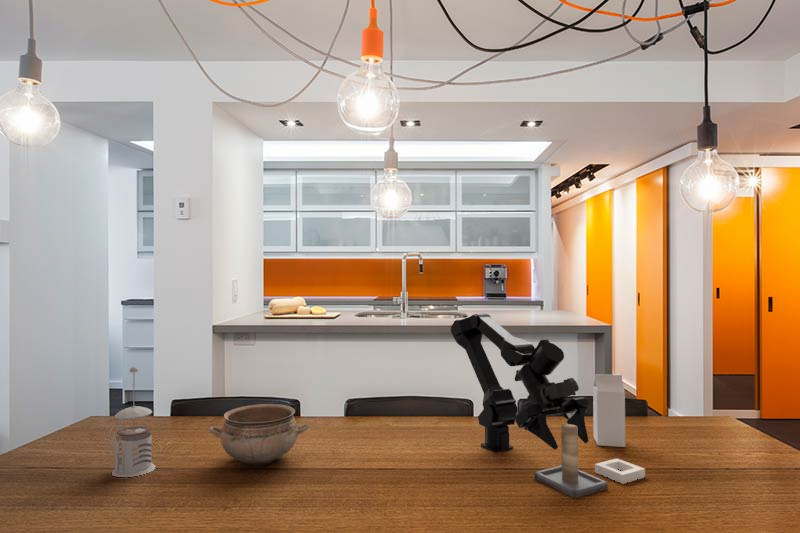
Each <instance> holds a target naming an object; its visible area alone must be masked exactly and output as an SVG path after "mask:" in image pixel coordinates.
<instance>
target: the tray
mask: <svg viewBox="0 0 800 533" xmlns="http://www.w3.org/2000/svg"><path fill="white" fill-rule="evenodd" d="M534 479H535V480H537V481H538V482H541V483H543V484H545V485H548V486H549V487H551V488H553V489H556V490H557V491H559V492H562V493H563V494H565V495H567V496H570V497H571V498H573V499H578V498H581V497H584V496H588V495H591V494H594V493H599V492H601V491H605V490H608V489H609V488H608V481H606V480H604V479H602V478H599V477H597V476H595V475H592V474H589V473H588V472H586V471H583V470H580V469H578V482H576V483H568V482H565V481H563V480H562V464H561V465H557V466H554V467H550V468H545V469H542V470H538V471H534Z"/></svg>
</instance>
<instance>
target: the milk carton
mask: <svg viewBox="0 0 800 533" xmlns="http://www.w3.org/2000/svg"><path fill="white" fill-rule="evenodd" d="M592 395H593V396H592V398H593V399H592V400H593V402H592V403H593V404H592V405H593V408H592V410H593V411H592V412H593V414H592V415H593V416H592V417H593V418H592V420H593V423H592V425H593V439H594V440H595V441H594V442H596V445H597V446H602V447H604V446H605V447H619V448H625V447H626V399H625V398H626V391H625V387H624V383H623V375H622V374H607V373H606V374H605V373H603V374H602V373H595V374H594V380H593V385H592Z"/></svg>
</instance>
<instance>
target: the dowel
mask: <svg viewBox="0 0 800 533" xmlns="http://www.w3.org/2000/svg"><path fill="white" fill-rule="evenodd" d="M560 430H561V431H560V432H561V433H560V434H561V435H560V436H561V441H560V443H561V465H562V480H563V481H565V482H568V483H576V482H578V470H579V441H578V440H579V438H578V437H579V436H578V427H577V426H576V425H571V424H568V423H564V424H561V425H560Z"/></svg>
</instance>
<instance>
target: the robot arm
mask: <svg viewBox="0 0 800 533" xmlns="http://www.w3.org/2000/svg"><path fill="white" fill-rule="evenodd" d="M491 316H492V315H490V314H489V313H486V312H485V313H474V314H473V315H470V316H468V317H465V318H463V319H456V320H454V321H453V324H451V326H450V332H451V335H452V337H453V339H454V340H455V342H456V344H457V345H458V346H460V347H461V348H462V349H463V350H465V353H466V355H467V357H468V359H469V361H470V364H471V366H472V368H473V371H474V373H475V375H476V379H477V380H478V382H479V385H480V387H481V388H480V389H481V390H482V393H483V399H482V406H483V409H482V411H480V413H479V415H478V416H477V420H478V424H479V426H482V427H484V442H482V443H480V446H481V447H483V448H484V449H487V450H489V451H491V452H494V453H498V452H503V451H508V450H513V449H514V446H513V445H510V432H509V431H510V430H509V429H510V427H509V426H511V425H515V423H516V425H517V427H518V428H519V429H522V428H523V429H524V431H528V432H529V433H531V434H533V435H534V436H536V437H537V438H539V439H540V440H541V441H542V442H544V443H545V444H546V445H548V446H549V447H550V448H551V449H553V450H557V449H558V448H559V446H558V444H557V441H556V439H555V437H554V434H553V433H552V431H551V430H550V428H549V425H548V423H547V418H548V417H553V416H554V417H555V416H560V415H562V416H563V417H564V419H566V424H571V425H576V426H577V427H578V437H579V438H578V439H580V440H581V441H582V442H583V443H584V444H587V443H589V434H588V431H587V428H586V427H587V426H586V422H585V420H586V419H585V416H586V413H587V412H588V411H589V408H590V407H591V404H590V402H589V401H588V399H587V398H586V397H583V396H580V397H579V396H578V397H574V398H570V400H569V401H567V400H568V399H567V397H570V396H576V395H577V392H578V391H579V389H580V388H579V385H578V382H577V381H576V379H574V377H569V378H567V379H563V381H561V382H554V381H553V382H550V380H549V379H548V377H547V376H549V375H551V374H552V373H553V372H554V371H555V370H556V369H557V368H558V366H559V365H560V364H561V362H562V361H563V360H564V359H565V354H564V352H563V349H562V348H561V347H559V346H558V345H557V344H554V343H552V342H550V340H549V339H540V341H539V342H538V343H537V346H534V344H532V343H531V342H529V341H528V340H525V339H524V338H520V337H516V336H513V334H512V333H510V332H509V331H507V330H506V329H505V328H504V327H502V326H501V325H500V324H499V323H498V322H497V321H495V320H494V319H493V318H492V317H491ZM483 335H484V336H485V337H486V338H487V339H488V340H489V341H490V342H491V343H492V344H494V346H496V347H497V348H498V349H499V350H500V351H499V352H500V357H501V358H502V359H503V360H504V362H505V363H506V364H507V366H510V367H520V366H522V367H521V368H520V369H516V371H515V376H514V381H515V382H521V383H522V384H523V386H524V388H525V389H526V391H527V392H528V396H526V398H527V401H529V402H531V401H532V402H533V403H532V404H526V405H524V406H523V407H521V409H520V410H519V411H518V406H517V400H516V399H515V397H514V395H513V392H512V390H511V388H504V387H502V386H501V384H500V382H499V379H498V378H497V376H496V374H495V371H494V368H493V366H492V365H491V363H490V360H489V357H488V356H487V354H486V351H485V348H484V347H483V344H482V339H483ZM566 401H567V403H566V404H565V405H563V403H565V402H566Z"/></svg>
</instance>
